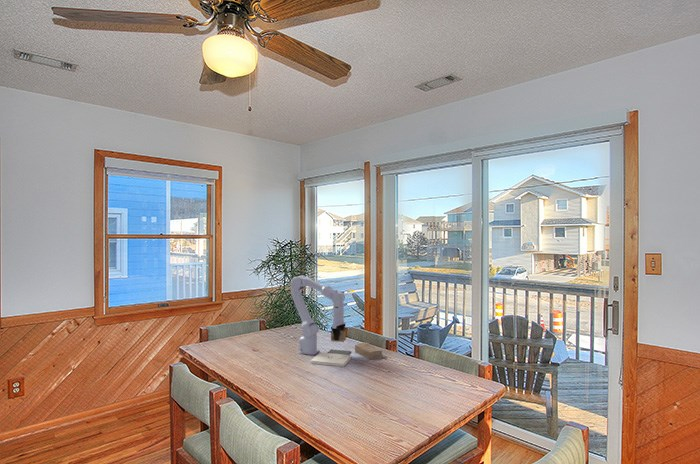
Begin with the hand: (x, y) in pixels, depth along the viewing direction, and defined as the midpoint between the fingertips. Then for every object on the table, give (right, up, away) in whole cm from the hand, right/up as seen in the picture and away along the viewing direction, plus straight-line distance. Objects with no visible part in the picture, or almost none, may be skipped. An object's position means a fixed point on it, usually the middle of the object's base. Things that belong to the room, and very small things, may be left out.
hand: (338, 338), depth 207 cm
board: (-3, -9, -9) cm, 13 cm away
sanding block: (0, -1, 0) cm, 1 cm away
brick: (+17, -10, +2) cm, 20 cm away
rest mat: (0, -9, +4) cm, 10 cm away
